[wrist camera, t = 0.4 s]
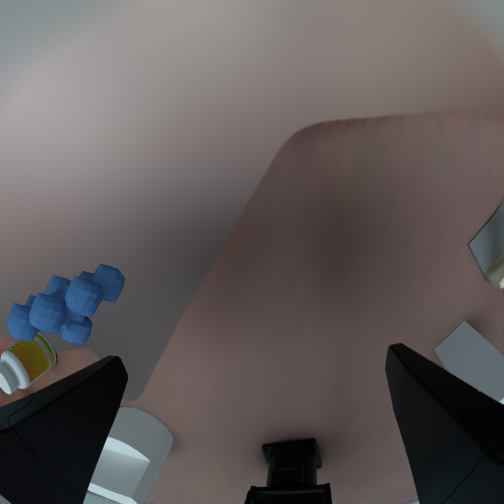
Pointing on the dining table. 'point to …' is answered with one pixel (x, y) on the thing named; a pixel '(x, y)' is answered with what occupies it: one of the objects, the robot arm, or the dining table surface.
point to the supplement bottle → (26, 363)
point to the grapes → (66, 306)
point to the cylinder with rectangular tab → (131, 457)
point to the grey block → (473, 361)
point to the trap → (491, 248)
